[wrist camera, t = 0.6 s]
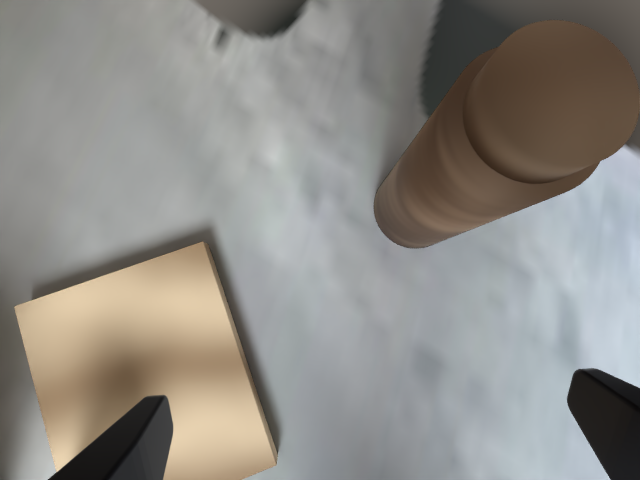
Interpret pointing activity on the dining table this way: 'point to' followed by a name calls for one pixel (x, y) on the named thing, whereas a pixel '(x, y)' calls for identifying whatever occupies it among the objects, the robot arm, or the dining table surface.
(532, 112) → the pepper mill
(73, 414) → the board
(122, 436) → the robot arm
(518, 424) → the dining table surface
